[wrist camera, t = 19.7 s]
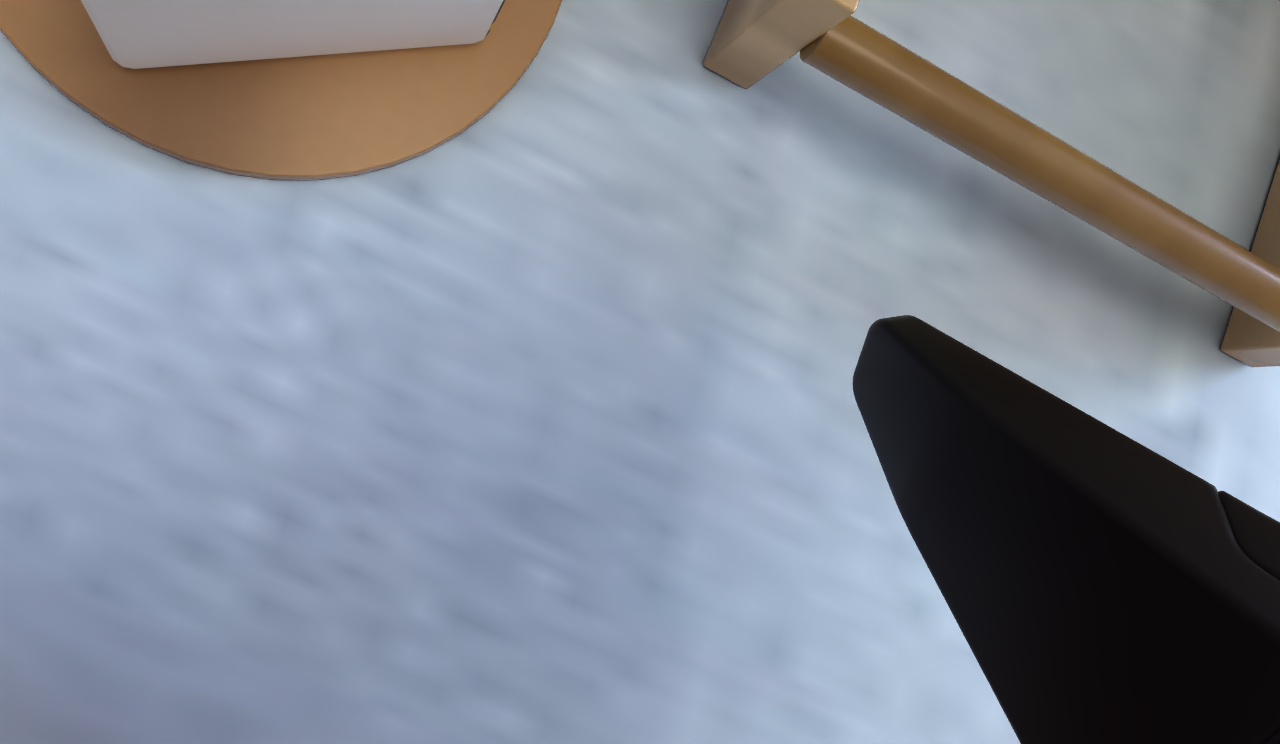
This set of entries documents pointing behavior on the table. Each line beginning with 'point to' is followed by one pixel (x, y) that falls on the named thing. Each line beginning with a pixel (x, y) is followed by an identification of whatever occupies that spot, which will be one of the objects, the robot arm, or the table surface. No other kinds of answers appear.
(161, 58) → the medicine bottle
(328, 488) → the table surface
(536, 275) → the table surface
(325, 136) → the cork coaster
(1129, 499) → the robot arm
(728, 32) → the spice rack
